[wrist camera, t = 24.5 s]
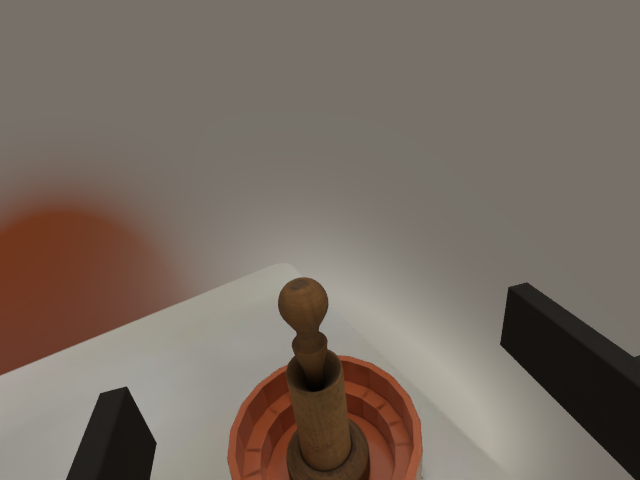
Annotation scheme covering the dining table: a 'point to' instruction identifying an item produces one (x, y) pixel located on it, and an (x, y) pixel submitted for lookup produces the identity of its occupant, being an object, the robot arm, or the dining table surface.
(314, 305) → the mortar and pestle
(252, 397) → the bowl
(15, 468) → the dining table surface
